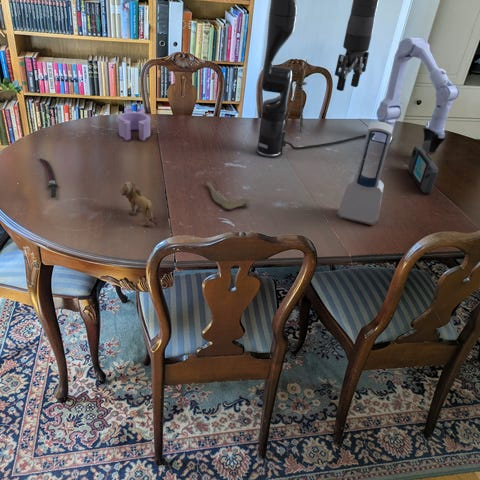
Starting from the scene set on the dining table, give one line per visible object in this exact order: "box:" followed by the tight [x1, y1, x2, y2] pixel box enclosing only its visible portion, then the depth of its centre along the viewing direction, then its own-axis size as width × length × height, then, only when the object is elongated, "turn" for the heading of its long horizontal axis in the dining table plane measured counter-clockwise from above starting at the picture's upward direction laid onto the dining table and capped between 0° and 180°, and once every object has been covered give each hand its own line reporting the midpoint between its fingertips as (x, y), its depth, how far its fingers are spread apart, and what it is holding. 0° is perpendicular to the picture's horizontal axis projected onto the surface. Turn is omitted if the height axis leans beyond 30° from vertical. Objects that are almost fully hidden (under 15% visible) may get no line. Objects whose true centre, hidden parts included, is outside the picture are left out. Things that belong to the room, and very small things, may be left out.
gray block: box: [421, 139, 437, 156], centre depth 191 cm, size 4×5×5 cm
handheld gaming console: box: [407, 145, 439, 195], centre depth 173 cm, size 23×3×10 cm, turn 178°
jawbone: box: [205, 181, 254, 211], centre depth 149 cm, size 9×20×2 cm, turn 50°
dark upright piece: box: [284, 59, 308, 132], centre depth 206 cm, size 9×8×30 cm
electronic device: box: [337, 121, 394, 226], centre depth 139 cm, size 12×8×30 cm, turn 71°
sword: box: [40, 158, 59, 198], centre depth 151 cm, size 31×3×1 cm, turn 26°
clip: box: [117, 106, 151, 142], centre depth 190 cm, size 20×12×7 cm, turn 11°
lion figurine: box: [119, 181, 159, 227], centre depth 134 cm, size 15×5×9 cm, turn 50°
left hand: (347, 88), depth 145 cm, fingers open, 8 cm apart
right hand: (428, 148), depth 192 cm, fingers closed on gray block, 6 cm apart
